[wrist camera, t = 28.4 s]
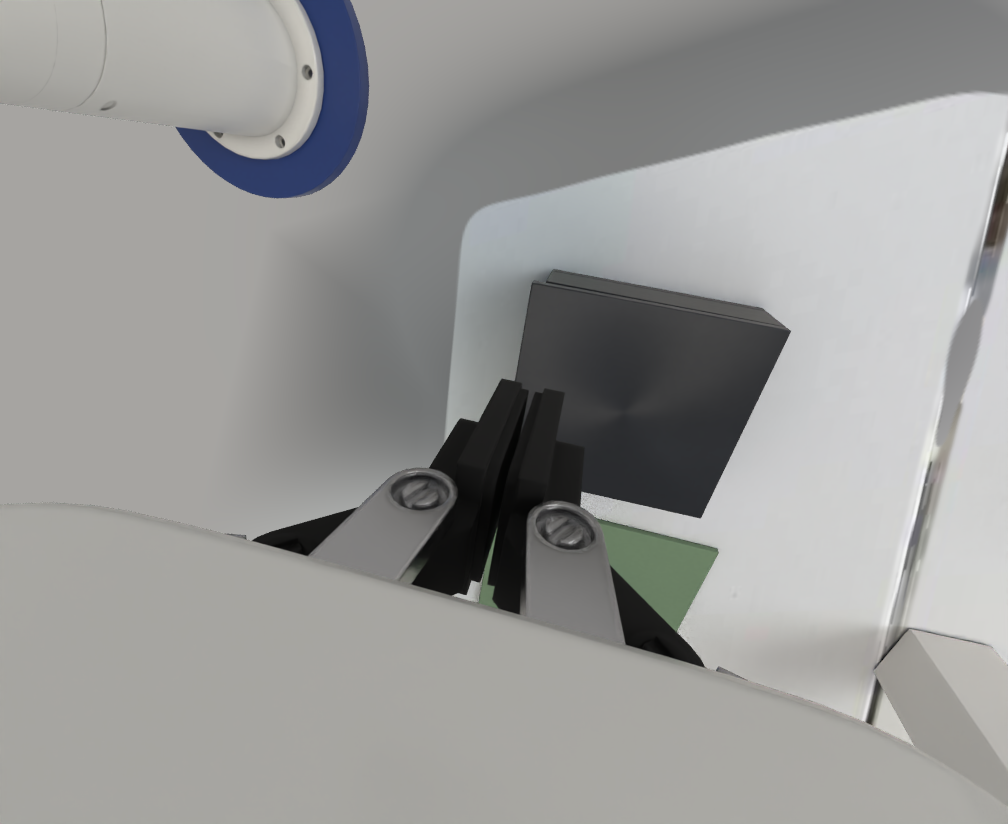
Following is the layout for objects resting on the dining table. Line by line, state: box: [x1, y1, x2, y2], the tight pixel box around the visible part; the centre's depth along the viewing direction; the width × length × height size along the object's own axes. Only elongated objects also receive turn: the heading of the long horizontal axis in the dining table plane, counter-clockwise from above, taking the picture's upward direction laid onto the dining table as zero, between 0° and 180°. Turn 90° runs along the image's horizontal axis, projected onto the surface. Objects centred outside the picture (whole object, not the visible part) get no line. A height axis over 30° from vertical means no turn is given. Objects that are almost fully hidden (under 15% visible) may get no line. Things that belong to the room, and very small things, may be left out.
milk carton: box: [874, 629, 1008, 807], centre depth 35 cm, size 7×7×19 cm
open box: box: [546, 269, 785, 327], centre depth 34 cm, size 16×16×5 cm
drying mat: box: [479, 519, 719, 632], centre depth 49 cm, size 22×22×1 cm
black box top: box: [515, 281, 791, 518], centre depth 32 cm, size 16×16×1 cm
